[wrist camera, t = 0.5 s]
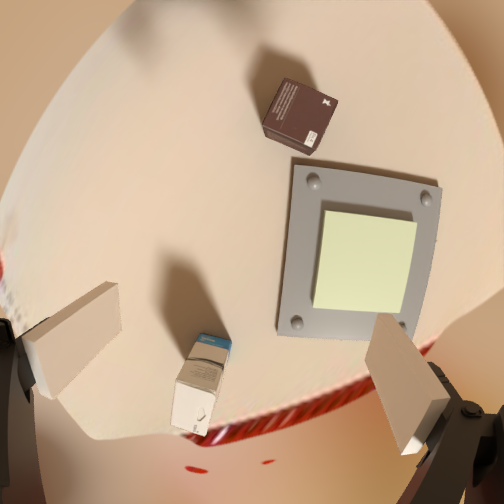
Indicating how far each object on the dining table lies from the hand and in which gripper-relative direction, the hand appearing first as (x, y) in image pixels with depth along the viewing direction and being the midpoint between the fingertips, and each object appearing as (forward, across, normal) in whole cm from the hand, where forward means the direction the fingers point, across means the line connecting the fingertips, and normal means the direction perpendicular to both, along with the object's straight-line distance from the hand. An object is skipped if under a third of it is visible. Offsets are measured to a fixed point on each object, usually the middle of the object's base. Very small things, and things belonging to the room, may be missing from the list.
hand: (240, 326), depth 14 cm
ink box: (+24, -6, -19) cm, 31 cm away
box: (+24, +3, +14) cm, 28 cm away
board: (+24, +13, -2) cm, 27 cm away
